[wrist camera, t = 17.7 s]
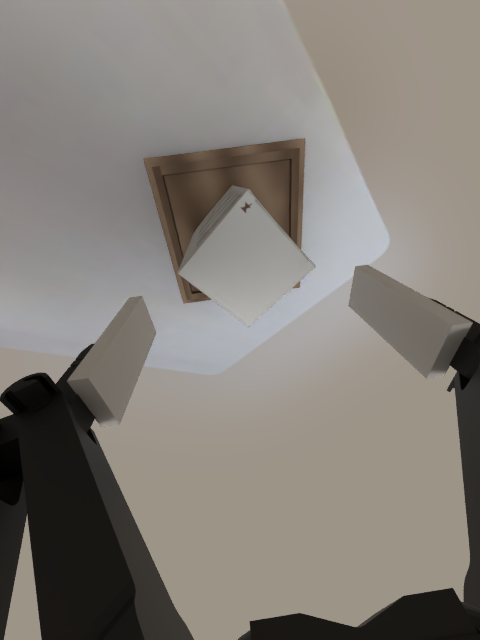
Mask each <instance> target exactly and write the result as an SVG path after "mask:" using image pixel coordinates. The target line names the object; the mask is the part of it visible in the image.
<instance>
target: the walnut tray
mask: <svg viewBox="0 0 480 640" xmlns="http://www.w3.org/2000/svg"><path fill="white" fill-rule="evenodd" d="M304 157H305V138H304V139H296V140H289V141H281V142H273V143H265V144H257V145H249V146H242V147H234V148H226V149H218V150H210V151H202V152H195V153H187V154H179V155H171V156H163V157H155V158H148V159H144V163H145V166H146V170H147V173H148V177H149V181H150V184H151V188H152V192H153V195H154V199H155V202H156V206H157V210H158V213H159V217H160V220H161V224H162V228H163V231H164V235H165V238H166V242H167V246H168V249H169V253H170V256H171V260H172V264H173V267H174V271H175V275H176V278H177V282H178V285H179V289H180V293H181V296H182V300H183V303H190V302H197V301H205V300H212V299H211V298H209V297H208V296H207V295H205V294H204V293H203V292H201V291H200V290H199V289H197V288H196V287H195V286H193V285H192V284H191V283H190V282H188V281H187V280H186V279H184V278H183V277H182V276H180V275H179V274H178V270H179V268H180V265H181V263H182V260H183V258H184V256H185V253H186V250H187V248H188V245H189V243H190V241H191V238H192V236H193V233H194V232H195V230H196V229H197V227H198V226H199V225H200V223H201V222H202V221H203V220H204V218H205V217H206V216H207V215H208V213H209V212H210V211H211V210H212V208H213V207H214V206H215V205H216V204H217V202H218V201H219V200H220V199H221V198H222V196H223V195H224V194H225V193H226V192H227V191H228V189H229V188H230V187H231V186H232V185H234V186H238V187H242V188H247V189H250V190H251V192H252V193H253V195H254V196H255V197H256V198H257V200H258V201H259V202H260V203H261V205H262V206H263V207H264V208H265V209H266V210H267V212H268V213H269V214H270V215H271V216H272V217H273V219H274V220H275V221H276V222H277V223H278V224H279V225H280V227H281V228H282V229H283V230H284V231H285V232H286V233H287V235H288V236H289V237H290V238H291V239H292V240H293V241H294V243H295V244H296V245H297V246H298V247H299V248H300V249H301V239H302V212H303V184H304ZM299 287H300V281H299V282H298V283H297V284H296V285H295V286H294V287H293V288H299Z"/></svg>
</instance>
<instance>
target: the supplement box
mask: <svg viewBox="0 0 480 640" xmlns="http://www.w3.org/2000/svg"><path fill="white" fill-rule="evenodd" d="M314 268H315V264H314V263H313V262H312V261H311V260H310V259H309V258H308V257H307V256H306V255H305V254H304V253H303V252H302V251H301V249H300V248H299V247H298V246H297V245H296V244H295V243H294V241H293V240H292V239H291V238H290V237H289V236H288V235H287V233H286V232H285V231H284V230H283V229H282V228H281V227H280V225H279V224H278V223H277V222H276V221H275V220H274V219H273V217H272V216H271V215H270V214H269V213H268V212H267V210H266V209H265V208H264V207H263V206H262V205H261V203H260V202H259V201H258V200H257V198H256V197H255V196H254V195H253V193H252V192H251V190H250V189H247V188H242V187H238V186H234V185H232V186H231V187H230V188H229V189H228V191H227V192H226V193H225V194H224V195H223V196H222V198H221V199H220V200H219V201H218V202H217V204H216V205H215V206H214V207H213V208H212V210H211V211H210V212H209V213H208V215H207V216H206V217H205V218H204V220H203V221H202V222H201V223H200V225H199V226H198V227H197V229H196V230H195V232H194V233H193V236H192V238H191V241H190V243H189V245H188V248H187V250H186V253H185V256H184V258H183V260H182V263H181V265H180V268H179V270H178V274H179V275H180V276H182V277H183V278H184V279H186V280H187V281H188V282H190V283H191V284H192V285H193V286H195V287H196V288H197V289H199V290H200V291H201V292H203V293H204V294H205V295H207V296H208V297H209V298H211V299H212V300H213V301H215V302H216V303H217V304H218V305H220V306H221V307H222V308H224V309H225V310H226V311H227V312H229V313H230V314H231V315H233V316H234V317H235V318H237V319H238V320H239V321H241V322H242V323H243V324H244V325H246V326H247V327H249V326H250V325H252V324H253V323H254V322H255V321H256V320H257V319H258V318H260V317H261V316H262V315H263V314H264V313H265V312H266V311H267V310H268V309H269V308H270V307H272V306H273V305H274V304H275V303H276V302H277V301H278V300H279V299H280V298H282V297H283V296H284V295H285V294H286V293H287V292H288V291H289V290H290V289H292V288H293V287H294V286H295V285H296V284H297V283H298V282H299V281H300V280H302V279H303V278H304V277H305V276H306V275H307V274H308V273H309V272H310V271H311V270H313V269H314Z"/></svg>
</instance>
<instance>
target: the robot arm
mask: <svg viewBox="0 0 480 640" xmlns="http://www.w3.org/2000/svg"><path fill="white" fill-rule="evenodd" d="M349 307H350V308H351V309H353V310H354V311H355V312H356V313H357V314H358V315H359V316H360V317H361V318H362V319H363V320H364V321H365V322H366V323H368V324H369V325H370V326H371V327H372V328H373V329H374V330H375V331H376V332H377V333H378V334H379V335H380V336H381V337H382V338H383V339H385V340H386V341H387V342H388V343H389V344H390V345H391V346H392V347H393V348H394V349H395V350H396V351H397V352H398V353H400V354H401V355H402V356H403V357H404V358H405V359H406V360H407V361H408V362H409V363H410V364H411V365H412V366H413V367H414V368H416V369H417V370H418V371H419V372H420V373H421V374H422V375H423V376H424V377H425V378H426V379H428V378H435V377H442V376H444V375H445V373H446V372H447V370H448V368H449V366H452V367H453V368H454V369H455V370H457V373H456V374H455V376H454V378H453V380H452V381H451V383H450V385H449V387H448V389H447V391H449V392H450V391H451V390H452V388H455V394H456V406H457V416H458V427H459V438H460V449H461V459H462V470H463V482H464V491H465V503H466V514H467V525H468V535H469V547H470V565H469V569H468V571H467V575H466V577H465V582H464V602H461V601H460V600H459V598H458V596H457V595H456V593H455V591H454V589H453V588H450V589H444V590H437V591H431V592H425V593H419V594H413V595H407V596H403V597H401V598H400V599H398V600H396V601H395V602H393V603H392V604H390V605H388V606H387V607H385V608H383V609H382V610H380V611H379V612H377V613H376V614H374V615H373V616H371V617H370V618H369V619H367V620H366V621H365V622H363V623H362V624H360V625H359V626H358V627H352V626H348V625H344V624H340V623H336V622H332V621H328V620H325V619H321V618H316V617H313V616H309V615H305V614H301V613H298V614H292V615H286V616H280V617H274V618H268V619H261V620H255V621H250V631H248V632H247V633H246V634H244V635H242V636H241V637H240V638H239V639H238V640H480V324H479V323H477V322H475V321H474V320H472V319H470V318H468V317H466V316H464V315H462V314H461V313H459V312H457V311H454V310H453V309H451V308H449V307H446V305H444V304H442V303H440V302H438V301H436V300H433V299H430V298H427V297H425V296H423V295H421V294H420V293H418V292H416V291H414V290H413V289H411V288H409V287H407V286H405V285H403V284H401V283H399V282H398V281H396V280H394V279H392V278H391V277H389V276H387V275H385V274H383V273H381V272H380V271H378V270H376V269H374V268H372V267H371V266H369V265H363V266H355V271H354V277H353V283H352V288H351V294H350V300H349ZM155 335H156V331H155V328H154V325H153V323H152V320H151V318H150V315H149V312H148V310H147V307H146V305H145V302H144V299H143V297H142V296H138V297H131V298H129V299H128V300H127V302H126V303H125V304H124V306H123V307H122V308H121V310H120V311H119V312H118V314H117V315H116V316H115V318H114V319H113V320H112V322H111V323H110V324H109V326H108V327H107V328H106V330H105V331H104V332H103V334H102V335H101V336H100V338H99V339H98V340H97V342H96V343H95V344H91V345H90V346H88V347H87V348H86V349H84V350H83V351H82V352H81V353H80V354H79V356H78V357H77V358H76V361H74V362H73V363H72V364H71V367H69V368H68V369H67V371H66V372H65V373H64V374H63V376H62V377H61V378H60V379H59V381H58V382H57V383H56V384H55V383H54V382H53V381H52V379H51V378H50V377H49V376H48V375H47V374H46V373H36V374H32V375H29V376H26V377H24V378H22V379H20V380H18V381H17V382H15V383H13V384H12V385H11V386H10V387H8V388H7V389H6V390H5V391H4V392H3V393H2V394H1V396H0V401H1V402H2V403H3V404H4V405H5V406H6V407H7V408H8V409H9V410H10V411H11V412H13V413H14V414H13V415H10V416H7V417H4V418H2V419H0V640H4V635H5V629H6V624H7V618H8V613H9V608H10V602H11V597H12V592H13V586H14V581H15V575H16V570H17V565H18V559H19V554H20V548H21V543H22V538H23V533H24V527H25V522H26V516H27V514H28V524H29V533H30V542H31V550H32V558H33V568H34V576H35V585H36V594H37V602H38V611H39V620H40V629H41V637H42V640H194V639H193V637H192V635H191V633H190V631H189V630H188V628H187V626H186V624H185V623H184V621H183V620H182V618H181V617H180V615H179V614H178V612H177V610H176V609H175V607H174V605H173V603H172V600H171V599H170V596H169V594H168V592H167V590H166V588H165V585H164V583H163V581H162V579H161V577H160V574H159V572H158V570H157V568H156V566H155V564H154V561H153V560H152V557H151V555H150V553H149V551H148V548H147V546H146V544H145V542H144V540H143V538H142V535H141V533H140V531H139V529H138V527H137V524H136V522H135V520H134V518H133V516H132V514H131V511H130V509H129V507H128V505H127V503H126V501H125V499H124V496H123V494H122V492H121V490H120V487H119V485H118V483H117V481H116V479H115V477H114V474H113V472H112V470H111V468H110V466H109V464H108V461H107V459H106V457H105V455H104V453H103V450H102V448H101V447H100V444H99V442H98V440H97V437H96V435H95V433H94V431H93V430H92V429H91V428H90V427H91V425H92V423H93V421H94V419H96V421H97V422H98V423H99V425H100V426H101V427H105V426H111V425H118V424H120V422H121V420H122V417H123V415H124V412H125V410H126V407H127V405H128V402H129V400H130V397H131V395H132V392H133V390H134V387H135V385H136V382H137V380H138V377H139V375H140V372H141V370H142V367H143V365H144V362H145V360H146V357H147V355H148V352H149V350H150V347H151V345H152V342H153V340H154V337H155Z"/></svg>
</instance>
